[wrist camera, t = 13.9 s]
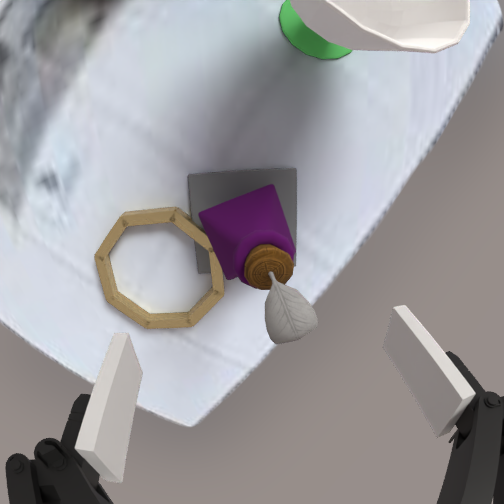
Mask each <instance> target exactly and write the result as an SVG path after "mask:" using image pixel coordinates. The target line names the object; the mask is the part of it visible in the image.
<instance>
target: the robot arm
mask: <svg viewBox="0 0 504 504" xmlns="http://www.w3.org/2000/svg"><path fill="white" fill-rule="evenodd" d="M383 348H384V350H385V352H386V353H387V355H388V356H389V358H390V359H391V361H392V362H393V364H394V366H395V368H396V369H397V371H398V372H399V374H400V375H401V377H402V379H403V381H404V382H405V384H406V385H407V387H408V389H409V390H410V392H411V394H412V396H413V397H414V398H415V401H416V402H417V404H418V406H419V407H420V409H421V411H422V412H423V414H424V416H425V418H426V420H427V421H428V423H429V425H430V427H431V428H432V430H433V432H434V434H435V435H436V437H437V438H438V437H440V436H442V435H444V434H447V433H449V432H450V431H451V429H452V428H453V427H454V425H456V426H457V428H458V430H457V431H456V432H455V433H454V435H453V436H452V437H451V439H450V440H449V443H451V441H453V439H454V443H453V447H452V452H451V456H450V460H449V464H448V468H447V472H446V475H445V479H444V482H443V486H442V489H441V492H440V495H439V498H438V501H437V504H491V502H492V498H493V504H504V396H503V397H500V396H499V395H497V394H496V393H494V392H485V390H484V389H483V388H482V387H481V385H480V384H479V383H478V381H477V380H476V379H475V377H474V376H473V375H472V374H471V373H470V371H468V369H467V367H466V366H465V365H464V364H463V362H462V361H461V360H460V358H459V357H457V356H456V355H455V354H453V353H452V352H450V351H449V352H446V353H445V352H444V351H443V350H442V349H441V347H440V346H439V345H438V344H437V342H436V341H435V340H434V339H433V337H432V336H431V335H430V334H429V333H428V332H427V330H426V329H425V328H424V327H423V325H421V323H420V322H419V321H418V319H417V318H416V317H415V316H414V315H413V314H412V312H411V311H410V310H409V309H408V308H407V307H406V306H405V305H403V306H397V307H393V310H392V314H391V318H390V323H389V326H388V330H387V334H386V337H385V341H384V345H383ZM142 374H143V372H142V369H141V367H140V364H139V361H138V359H137V356H136V353H135V350H134V347H133V344H132V342H131V339H130V336H129V333H114V335H113V338H112V340H111V343H110V345H109V348H108V350H107V353H106V355H105V358H104V361H103V363H102V366H101V369H100V372H99V374H98V377H97V380H96V383H95V385H94V388H93V391H92V394H91V395H88V394H81V395H80V396H79V397H78V398H77V399H76V400H75V402H74V404H73V407H72V409H71V414H70V415H69V418H68V421H67V424H66V427H65V430H64V432H63V435H62V439H61V442H59V441H58V440H56V439H54V438H46V439H43V440H41V441H40V442H39V443H38V444H37V445H36V447H35V450H34V456H35V460H29V459H28V458H27V457H26V456H25V455H23V454H19V453H16V454H13V455H12V456H10V457H9V458H8V460H7V462H6V478H7V488H8V495H9V501H10V504H113V502H112V501H111V499H110V498H109V497H108V495H107V493H106V492H105V490H104V489H103V488H102V486H101V484H99V482H98V481H99V476H101V477H102V478H103V479H104V480H105V481H111V482H118V483H122V481H123V474H124V467H125V461H126V455H127V448H128V443H129V437H130V432H131V427H132V422H133V416H134V411H135V406H136V402H137V397H138V392H139V388H140V383H141V379H142Z"/></svg>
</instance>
